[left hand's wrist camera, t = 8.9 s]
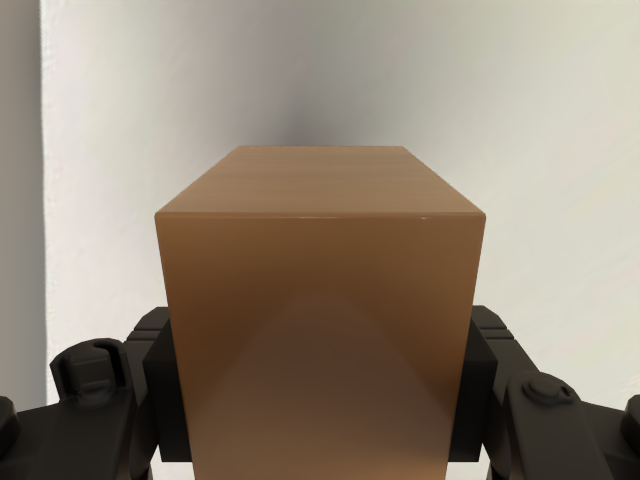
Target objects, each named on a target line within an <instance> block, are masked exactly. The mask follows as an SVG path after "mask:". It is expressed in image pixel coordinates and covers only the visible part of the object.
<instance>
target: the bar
mask: <svg viewBox="0 0 640 480" xmlns="http://www.w3.org/2000/svg"><path fill="white" fill-rule="evenodd" d="M154 218H155V224H156V231H157V237H158V244H159V250H160V257H161V263H162V270H163V276H164V282H165V289H166V295H167V302H168V308H169V315H170V321H171V328H172V334H173V341H174V347H175V354H176V360H177V366H178V373H179V379H180V386H181V392H182V399H183V405H184V412H185V418H186V425H187V431H188V437H189V444H190V450H191V457H192V463H193V470H194V476H195V480H445V476H446V470H447V464H448V457H449V451H450V445H451V438H452V432H453V426H454V419H455V413H456V406H457V400H458V394H459V387H460V381H461V375H462V368H463V362H464V356H465V349H466V343H467V336H468V330H469V324H470V317H471V311H472V305H473V298H474V292H475V286H476V279H477V273H478V266H479V260H480V254H481V247H482V241H483V235H484V228H485V222H486V215H485V213H484V212H483V211H481V210H480V209H479V208H478V207H477V206H475V205H474V204H473V203H472V202H470V201H469V200H468V199H467V198H465V197H464V196H463V195H462V194H461V193H459V192H458V191H457V190H456V189H454V188H453V187H452V186H451V185H449V184H448V183H447V182H446V181H445V180H443V179H442V178H441V177H440V176H438V175H437V174H436V173H435V172H434V171H432V170H431V169H430V168H429V167H427V166H426V165H425V164H424V163H422V162H421V161H420V160H419V159H418V158H416V157H415V156H414V155H413V154H411V153H410V152H409V151H408V150H406V149H405V148H404V147H402V146H238V147H237V148H236V149H234V150H233V151H232V152H231V153H229V154H228V155H227V156H226V157H224V158H223V159H222V160H221V161H219V162H218V163H217V164H216V165H215V166H213V167H212V168H211V169H210V170H208V171H207V172H206V173H205V174H203V175H202V176H201V177H200V178H198V179H197V180H196V181H195V182H193V183H192V184H191V185H190V186H188V187H187V188H186V189H185V190H183V191H182V192H181V193H180V194H178V195H177V196H176V197H175V198H174V199H172V200H171V201H170V202H169V203H167V204H166V205H165V206H164V207H162V208H161V209H160V210H159V211H157V212H156V213H155V216H154Z"/></svg>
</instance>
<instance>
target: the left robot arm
mask: <svg viewBox="0 0 640 480" xmlns="http://www.w3.org/2000/svg"><path fill="white" fill-rule="evenodd" d="M49 365H50V368H51V372H52V375H53V378H54V382H55V385H56V388H57V392H58V395H59V398H60V400H59V402H58V403H56V404H52V405H49V406H44V407H40V408H35V409H31V410H26V411H22V412H17V413H16V410H15V407H14V404H13V402H12V401H11V400H10V399H8V398H7V397H4V396H0V480H153V475H152V469H151V464H150V462H151V459H152V457H153V455H154V452H155V450H156V448H157V446H158V445H159V450H160V455H161V460H162V462H192V457H191V450H190V444H189V437H188V431H187V425H186V418H185V412H184V405H183V399H182V392H181V386H180V379H179V373H178V366H177V360H176V354H175V347H174V341H173V334H172V328H171V321H170V315H169V308H168V307H156V308H155V309H153V310H152V311H150V312H149V313H147V314H146V315H144V316H143V317H142V318H141V320H140V321H139V322H138V324H137V325H136V326H135V328H134V331H132V332H131V333H130V334H129V336H128V337H127V340H126V341H124V343H122V342H121V341H119V340H116V339H111V338H98V339H92V340H88V341H84V342H81V343H78V344H76V345H74V346H71V347H69V348H67V349H66V350H64V351H63V352H61V353H60V354H59V355H57V356H56V357H55V358H54V360H53V361H52V362H51V363H50V364H49ZM482 443H483V445H484V447H485V450H486V452H487V454H488V456H489V459H490V464H489V469H488V474H487V478H486V480H640V394H639V395H634V396H633V397H632V398H631V399H629V400H628V403H627V406H626V408H625V411H622V410H618V409H613V408H609V407H604V406H600V405H595V404H591V403H587V402H584V401H581V399H580V398H579V396H578V395H577V393H576V392H575V390H574V389H573V388H571V387H570V386H569V385H568V384H566V383H565V382H564V381H562V380H560V379H558V378H556V377H554V376H552V375H550V374H547V373H543V372H540V371H539V370H538V369H537V367H536V366H535V364H534V363H533V362H532V360H531V359H530V358H529V356H528V355H527V354H526V352H525V351H524V350H523V348H522V347H521V346H520V344H519V343H518V342H517V340H514V336H513V335H512V333H511V332H510V331H509V330H507V327H506V325H505V324H504V323H503V321H502V320H501V319H500V317H499V316H498V315H497V314H495V313H494V312H492V311H491V310H489V309H488V308H486V307H485V306H472V311H471V317H470V324H469V330H468V336H467V343H466V349H465V356H464V362H463V368H462V375H461V381H460V387H459V394H458V400H457V406H456V413H455V419H454V426H453V432H452V438H451V445H450V451H449V457H448V462H479V457H480V452H481V447H482Z"/></svg>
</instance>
